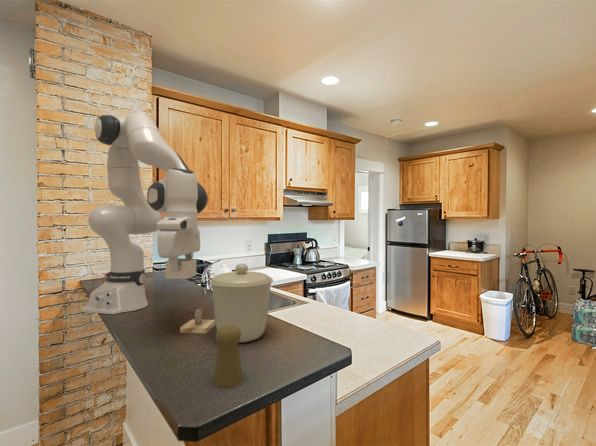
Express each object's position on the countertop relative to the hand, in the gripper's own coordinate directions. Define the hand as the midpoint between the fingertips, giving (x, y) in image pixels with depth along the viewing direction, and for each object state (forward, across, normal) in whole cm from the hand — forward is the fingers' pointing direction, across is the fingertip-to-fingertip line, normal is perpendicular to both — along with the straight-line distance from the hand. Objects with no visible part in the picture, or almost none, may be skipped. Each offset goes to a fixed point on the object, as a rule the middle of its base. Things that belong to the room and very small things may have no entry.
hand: (181, 269), depth 91 cm
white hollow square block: (+2, 0, 0) cm, 2 cm away
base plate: (+19, -5, +3) cm, 20 cm away
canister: (+19, 0, +18) cm, 26 cm away
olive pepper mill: (+19, +25, +22) cm, 38 cm away
